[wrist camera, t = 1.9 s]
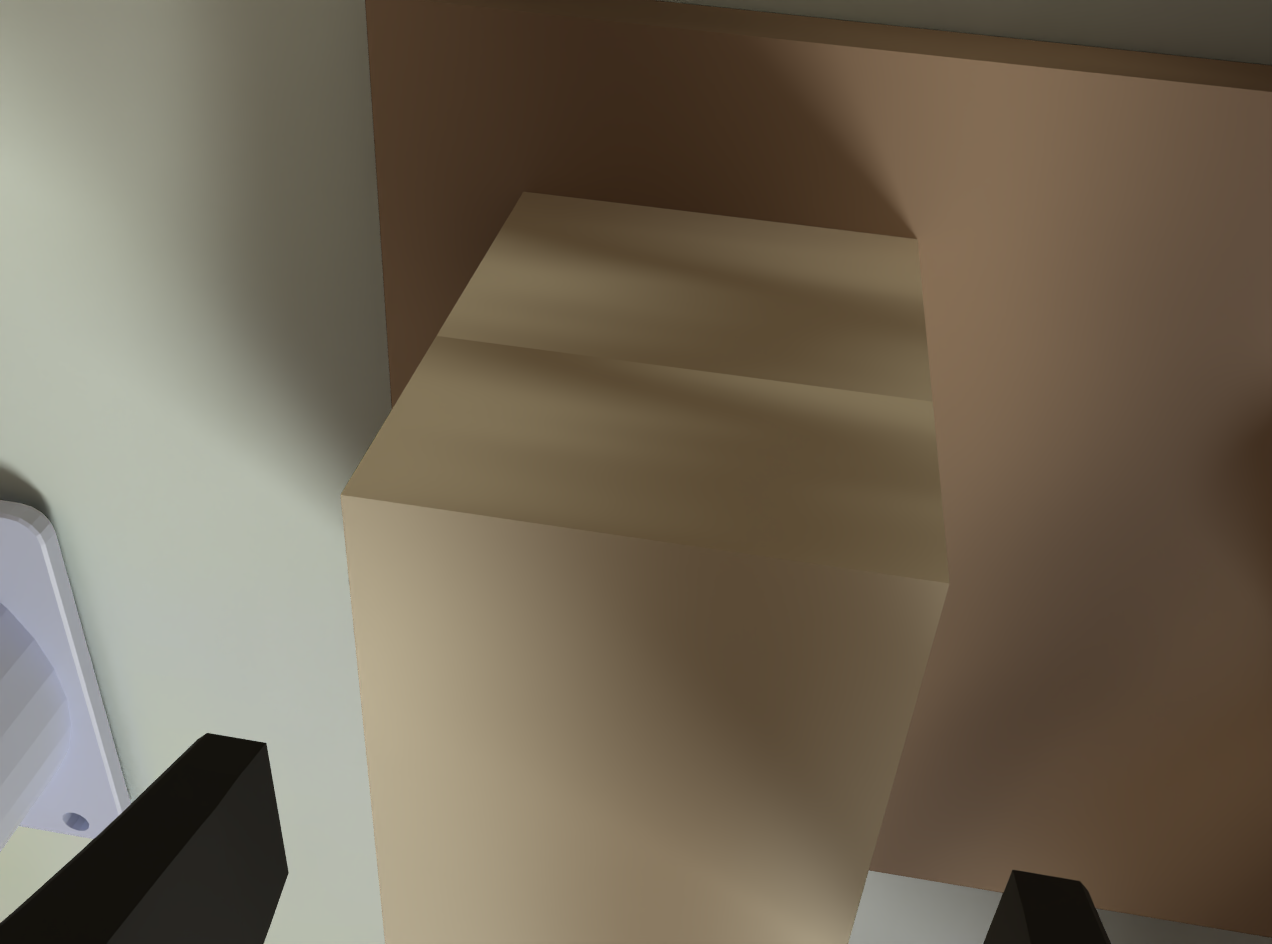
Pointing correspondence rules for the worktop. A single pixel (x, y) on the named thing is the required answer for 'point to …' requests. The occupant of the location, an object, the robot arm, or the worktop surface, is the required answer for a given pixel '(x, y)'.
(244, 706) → the worktop surface
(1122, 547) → the base
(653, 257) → the block
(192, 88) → the worktop surface
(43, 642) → the robot arm
